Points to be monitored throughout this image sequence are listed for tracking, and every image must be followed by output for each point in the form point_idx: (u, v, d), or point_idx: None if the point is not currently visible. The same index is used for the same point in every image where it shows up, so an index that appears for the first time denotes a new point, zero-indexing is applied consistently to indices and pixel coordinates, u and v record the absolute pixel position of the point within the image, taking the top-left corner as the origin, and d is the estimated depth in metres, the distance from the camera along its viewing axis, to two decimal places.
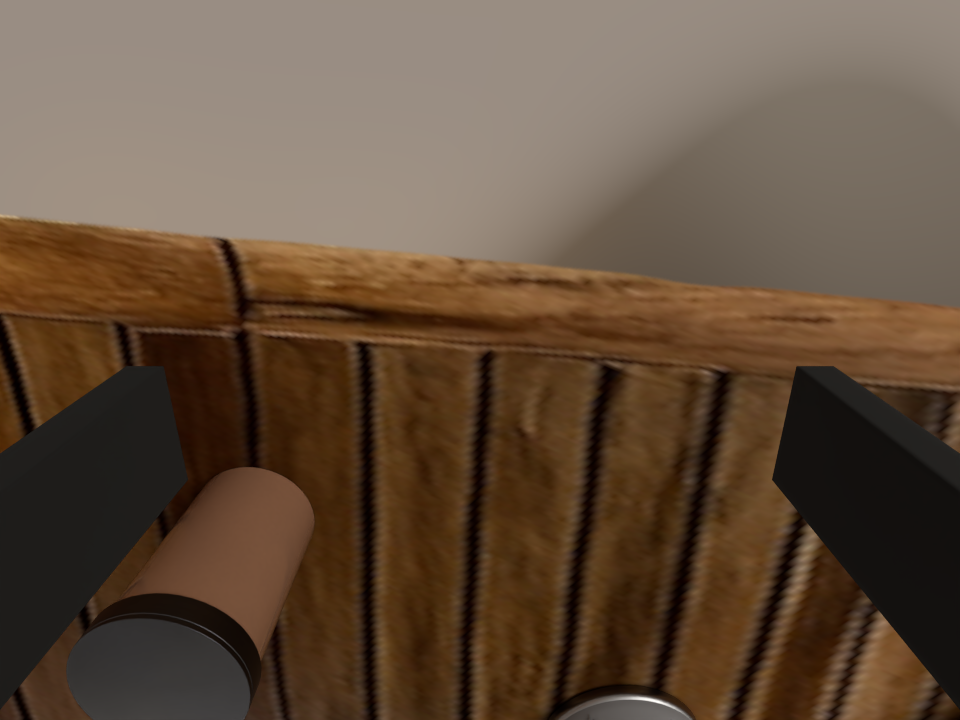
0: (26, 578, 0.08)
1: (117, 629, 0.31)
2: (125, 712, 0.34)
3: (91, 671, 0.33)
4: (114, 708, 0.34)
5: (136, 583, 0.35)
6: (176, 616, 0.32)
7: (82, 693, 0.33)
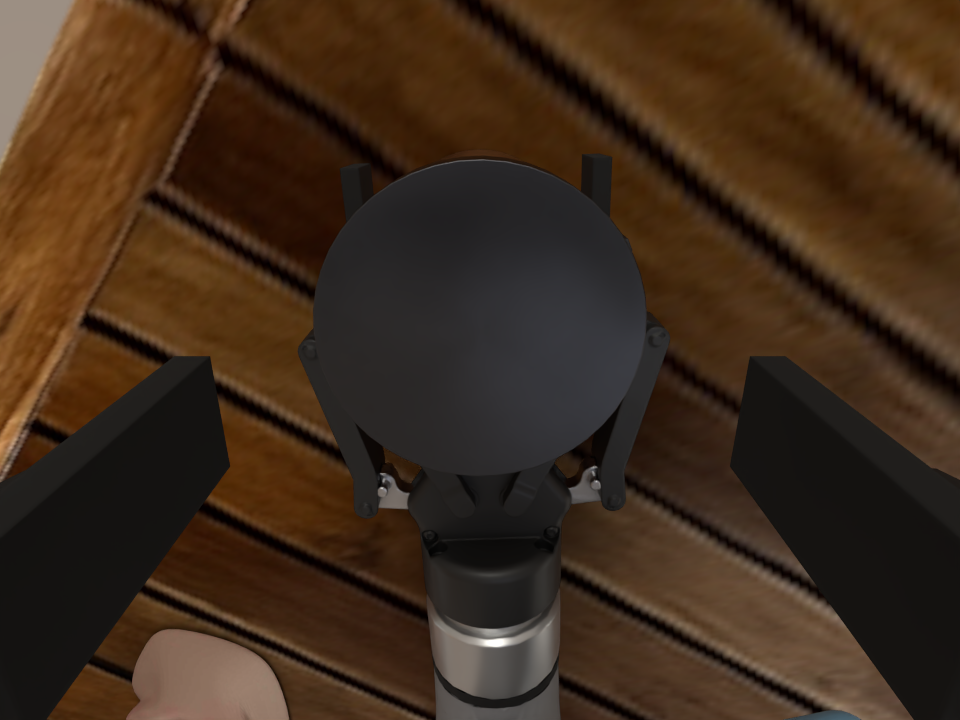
0: (99, 552, 0.09)
1: (332, 298, 0.17)
2: (493, 422, 0.19)
3: (388, 402, 0.19)
4: (476, 431, 0.19)
5: None
6: None
7: (420, 448, 0.19)
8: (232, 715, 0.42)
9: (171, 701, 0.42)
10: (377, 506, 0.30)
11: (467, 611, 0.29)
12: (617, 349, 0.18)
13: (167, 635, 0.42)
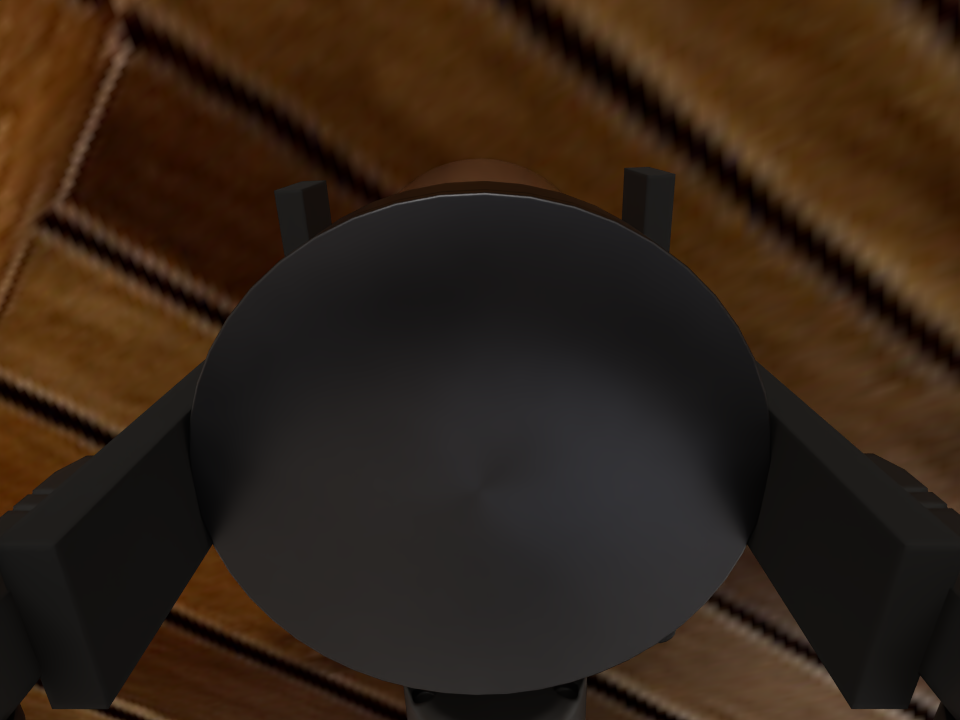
0: (163, 532, 0.09)
1: (220, 433, 0.10)
2: (502, 620, 0.11)
3: (327, 592, 0.11)
4: (474, 632, 0.12)
5: None
6: None
7: (382, 657, 0.12)
8: None
9: None
10: None
11: None
12: (716, 513, 0.11)
13: None
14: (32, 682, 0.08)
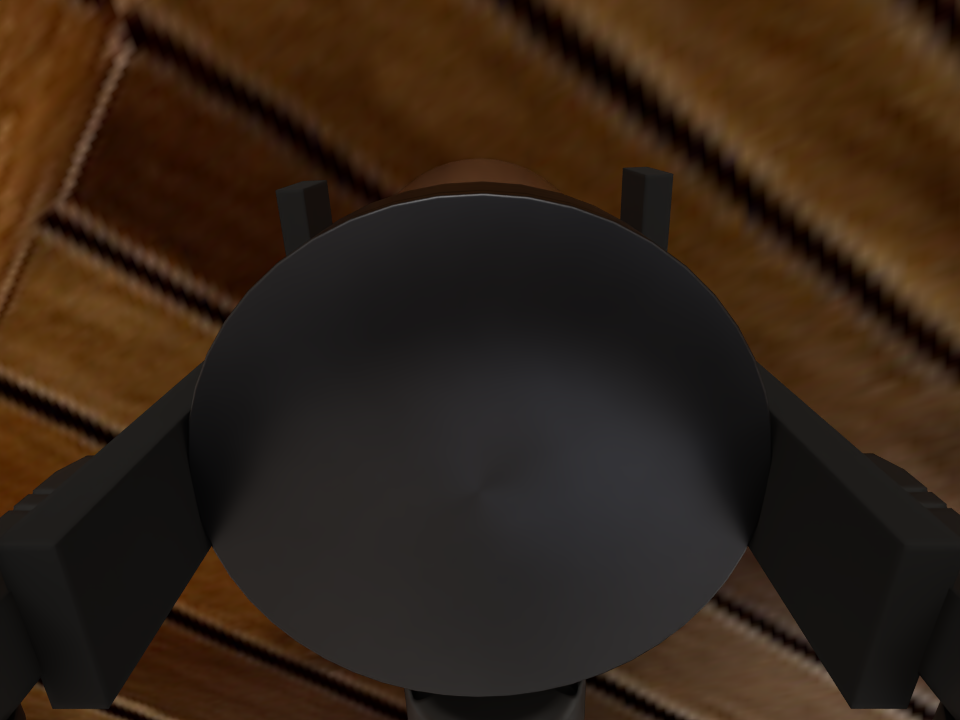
0: (164, 532, 0.09)
1: (343, 646, 0.12)
2: (644, 525, 0.11)
3: (532, 643, 0.12)
4: (645, 553, 0.11)
5: None
6: None
7: (630, 634, 0.12)
8: None
9: None
10: None
11: None
12: (614, 283, 0.09)
13: None
14: (33, 682, 0.08)
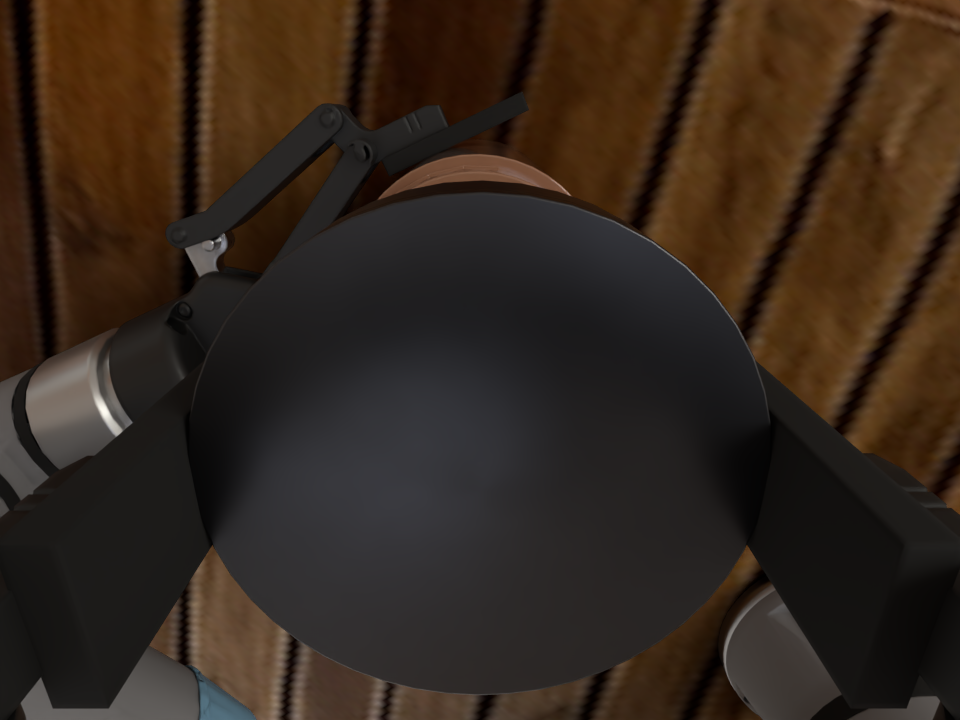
0: (164, 532, 0.09)
1: (343, 644, 0.12)
2: (644, 523, 0.11)
3: (532, 641, 0.12)
4: (645, 551, 0.11)
5: (430, 160, 0.21)
6: None
7: (629, 632, 0.12)
8: None
9: None
10: (188, 246, 0.27)
11: (133, 386, 0.27)
12: (614, 282, 0.09)
13: None
14: (33, 682, 0.08)
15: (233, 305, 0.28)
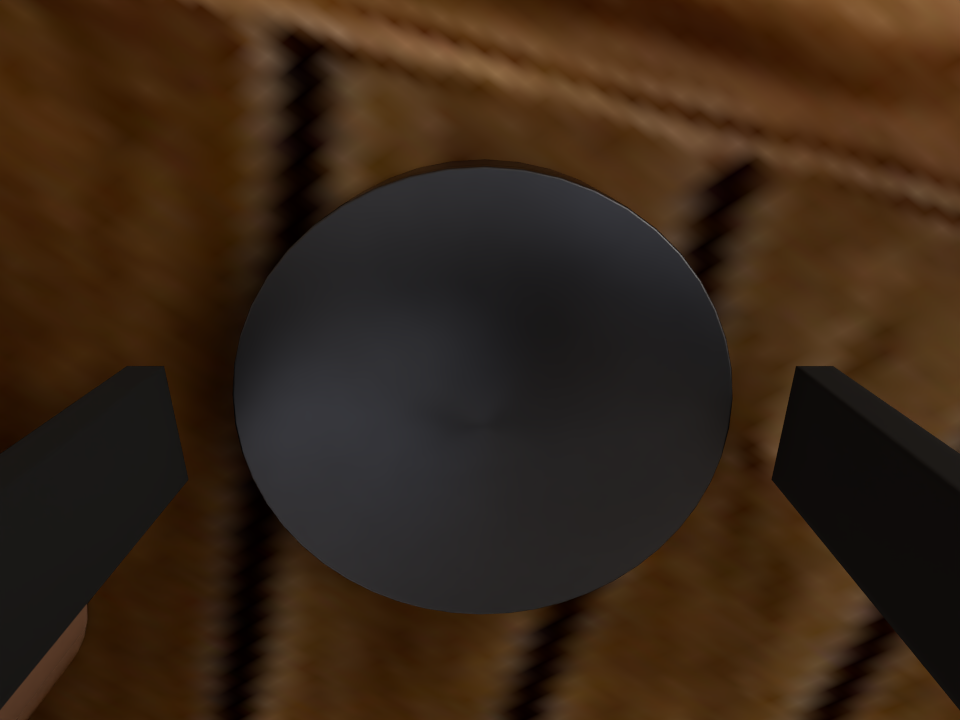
0: (27, 578, 0.08)
1: (363, 567, 0.13)
2: (624, 456, 0.12)
3: (528, 564, 0.13)
4: (625, 482, 0.13)
5: None
6: None
7: (613, 555, 0.13)
8: None
9: None
10: None
11: None
12: (596, 243, 0.11)
13: None
14: None
15: None
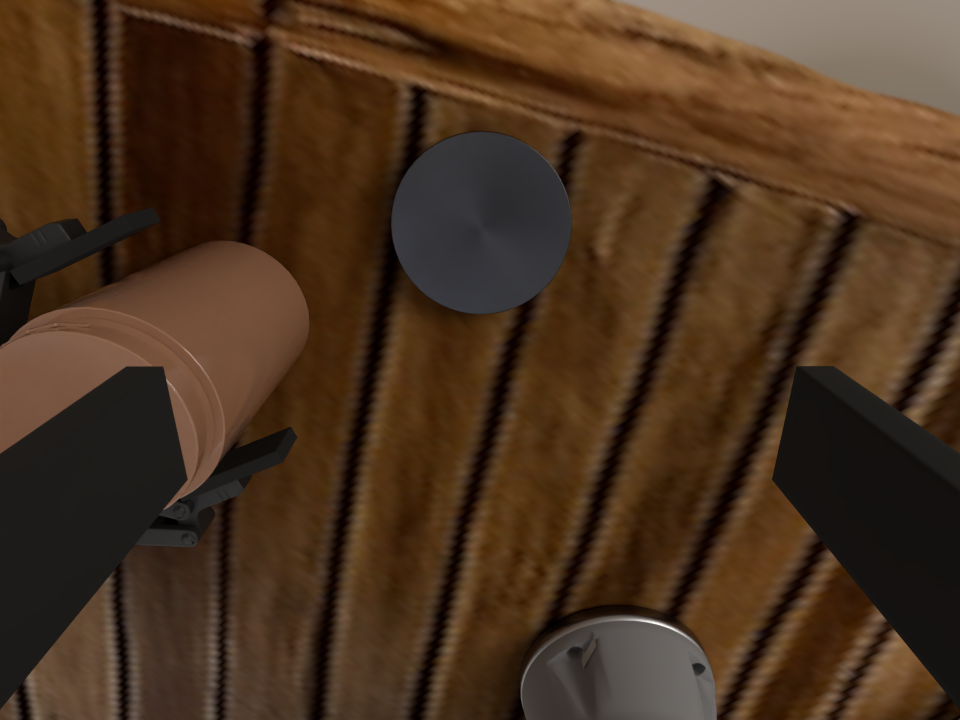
0: (26, 578, 0.08)
1: (434, 291, 0.34)
2: (533, 241, 0.33)
3: (499, 289, 0.34)
4: (534, 252, 0.34)
5: (69, 302, 0.24)
6: None
7: (531, 285, 0.34)
8: None
9: None
10: None
11: None
12: (519, 158, 0.32)
13: None
14: None
15: None
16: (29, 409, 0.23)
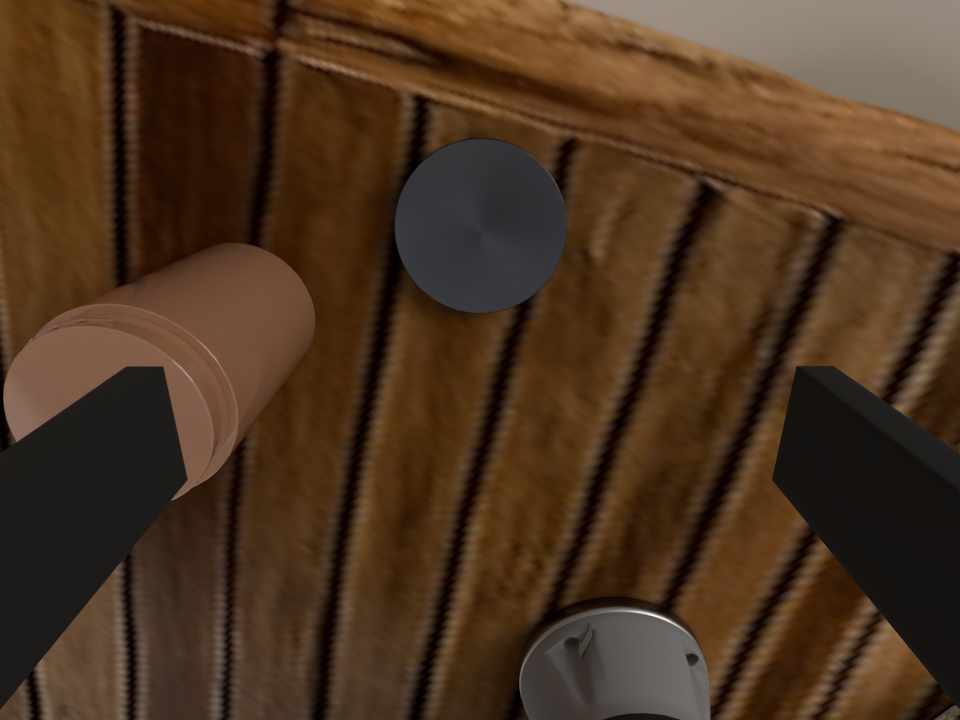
0: (26, 578, 0.08)
1: (436, 291, 0.36)
2: (530, 243, 0.35)
3: (497, 289, 0.36)
4: (532, 253, 0.35)
5: (91, 300, 0.26)
6: None
7: (529, 285, 0.36)
8: None
9: None
10: None
11: None
12: (517, 163, 0.33)
13: None
14: None
15: None
16: (55, 399, 0.24)
